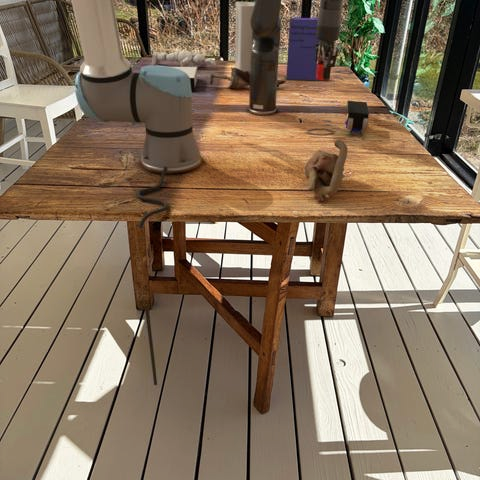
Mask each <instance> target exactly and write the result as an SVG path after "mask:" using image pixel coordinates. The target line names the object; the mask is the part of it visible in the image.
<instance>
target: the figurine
mask: <svg viewBox="0 0 480 480" xmlns="http://www.w3.org/2000/svg"><path fill="white" fill-rule="evenodd" d="M230 69H231V72H230V73H231V74H230V76H229V75H225V74H213V73H211V74H210V78H209V85H212V84H213V83H214V79H215V78H216V79H223V80H227V81H229V84H228V88H229V89H241V88H247V87H250V72H249V71H245V72H244V71H242V70H240V69H237V68H235V67H232V66H231V67H230ZM286 83H287V79H286V80H285V79H277V89H278V88H280V86H281V85H284V84H286Z"/></svg>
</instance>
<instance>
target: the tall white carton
mask: <svg viewBox="0 0 480 480" xmlns="http://www.w3.org/2000/svg"><path fill="white" fill-rule="evenodd" d="M254 5H255V1H254V2H252V1H235V59H234V60H235V62H234V63H235V65H234V66H235V67H234V68H237V69H240V70H242V71H244V72H245V71H249V72H250V51H251V44H252V29H251V26H250V18H251V14H252V11H253V8H254Z"/></svg>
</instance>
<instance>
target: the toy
mask: <svg viewBox="0 0 480 480" xmlns="http://www.w3.org/2000/svg"><path fill="white" fill-rule="evenodd" d="M151 61H152V63H151V65H153V66H156V65H159V64H160V63H161V62H167V61H168V62H178V64H179V67H185V66H188V65H190V64H192V66H191V67H197V68H200V65H204V64H205V63H210V64H211V65H212V66H214V67H217V64H218V63H217V62H216V60H214V59H212V58H210V57H209V58H206V56H205V55H204V54H202V53H200V51H198V50H197V51H195V52H190V51H187V50H181V51H178V50H176V51H174V52H170V53H168V52H166V51H161V52H160V51H158V50H157V51H155V52H153V53H152V59H151Z"/></svg>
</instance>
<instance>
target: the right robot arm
mask: <svg viewBox="0 0 480 480" xmlns="http://www.w3.org/2000/svg"><path fill="white" fill-rule="evenodd" d="M343 2H344V0H320V2H319V11H318V15H317V18H318V23H317V33H316V38H317V39H318V40H320V42H319V43H315V61H317V64H318V65H319V64H324V73H323V79H324V80H327V81H329V80H328V79H331V74H330V71H331V72H332V68H335V66H336V63H337V58H338V54H339V49H338V48H335V42H336V41H339V38H340V32H341V22H342V9H343ZM254 3H255V5H254V8H253V11H252V14H251V18H250V26H251V29H252V44H251V51H250V86H249V98H248V99H249V100H248V101H249V102H248V112H249V113H251V114H253V115H259V116H267V115H273V114H275V113H276V112H277V99H278V98H277V97H278V95H277V94H278V88H277V80H279V79H278V78H279V76H278V75H279V58H280V57H279V56H280V47H281V32H282V31H281V30H282V15H281V7H282V0H255V1H254ZM327 57H328V58H327Z"/></svg>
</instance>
